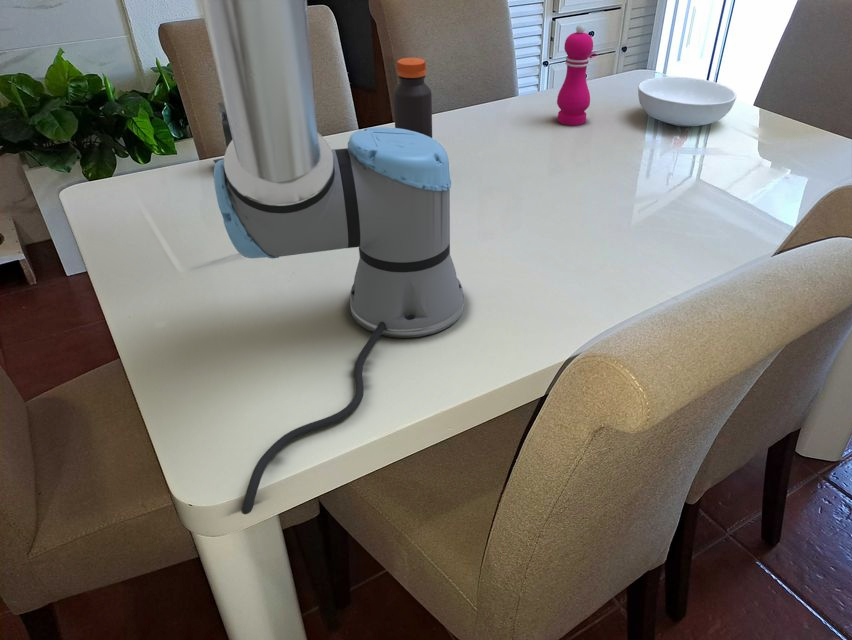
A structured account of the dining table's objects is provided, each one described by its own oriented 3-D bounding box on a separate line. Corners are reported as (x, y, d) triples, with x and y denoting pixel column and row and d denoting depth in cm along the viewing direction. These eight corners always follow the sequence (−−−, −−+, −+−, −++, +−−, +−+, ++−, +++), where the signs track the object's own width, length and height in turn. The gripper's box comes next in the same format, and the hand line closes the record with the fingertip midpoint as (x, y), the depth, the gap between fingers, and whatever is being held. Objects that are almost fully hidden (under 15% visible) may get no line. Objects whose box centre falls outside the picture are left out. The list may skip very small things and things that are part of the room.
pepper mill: (548, 120, 157) (556, 24, 145) (569, 113, 161) (578, 19, 149) (573, 128, 153) (583, 30, 141) (594, 121, 157) (605, 24, 145)
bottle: (394, 166, 135) (388, 57, 123) (428, 163, 136) (426, 55, 124) (400, 180, 130) (395, 67, 118) (436, 177, 131) (434, 65, 119)
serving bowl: (725, 141, 147) (733, 108, 143) (626, 128, 153) (630, 96, 149) (732, 112, 163) (740, 81, 159) (642, 101, 169) (646, 71, 165)
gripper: (269, -212, 86) (295, 0, 100) (159, -216, 80) (203, 9, 94) (291, -215, 81) (316, 9, 95) (175, -219, 75) (219, 20, 89)
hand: (259, 9), depth 95 cm, fingers closed
